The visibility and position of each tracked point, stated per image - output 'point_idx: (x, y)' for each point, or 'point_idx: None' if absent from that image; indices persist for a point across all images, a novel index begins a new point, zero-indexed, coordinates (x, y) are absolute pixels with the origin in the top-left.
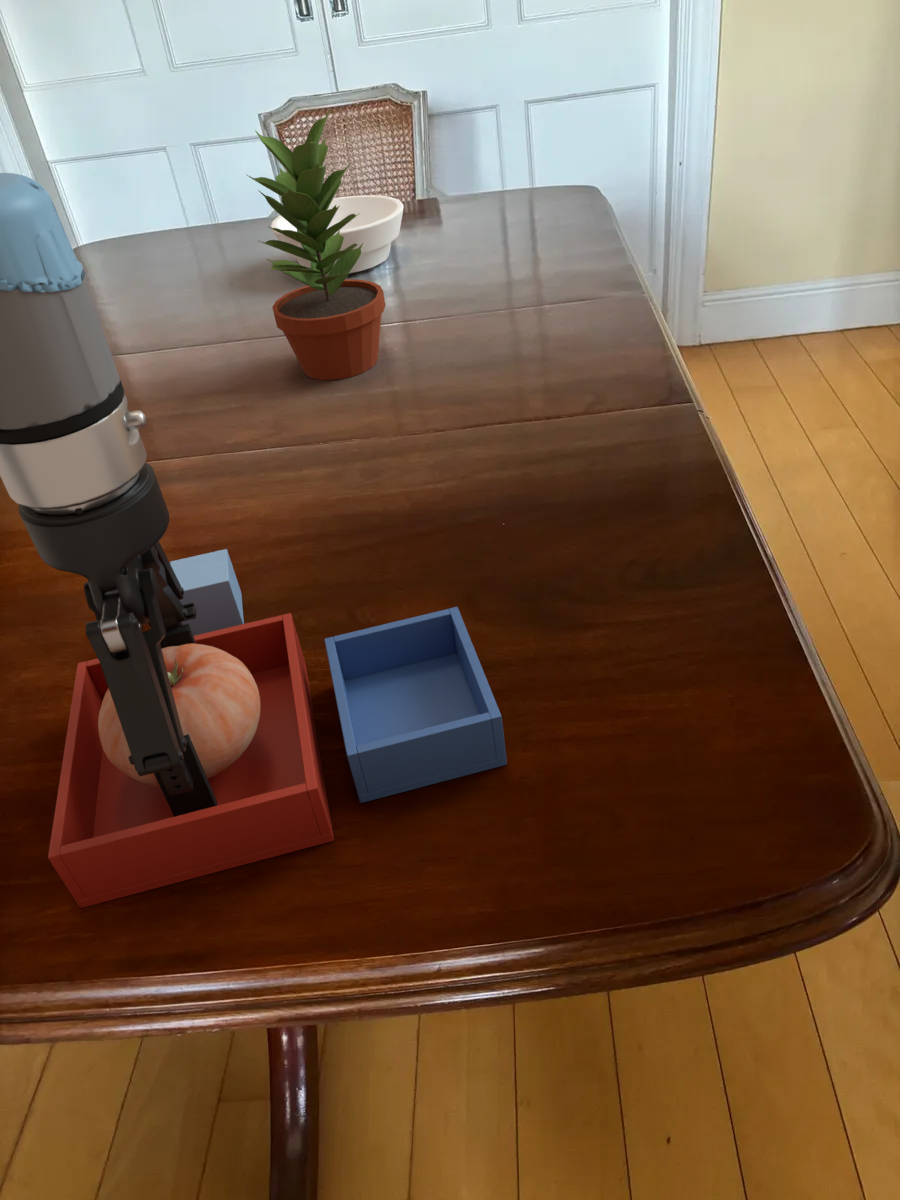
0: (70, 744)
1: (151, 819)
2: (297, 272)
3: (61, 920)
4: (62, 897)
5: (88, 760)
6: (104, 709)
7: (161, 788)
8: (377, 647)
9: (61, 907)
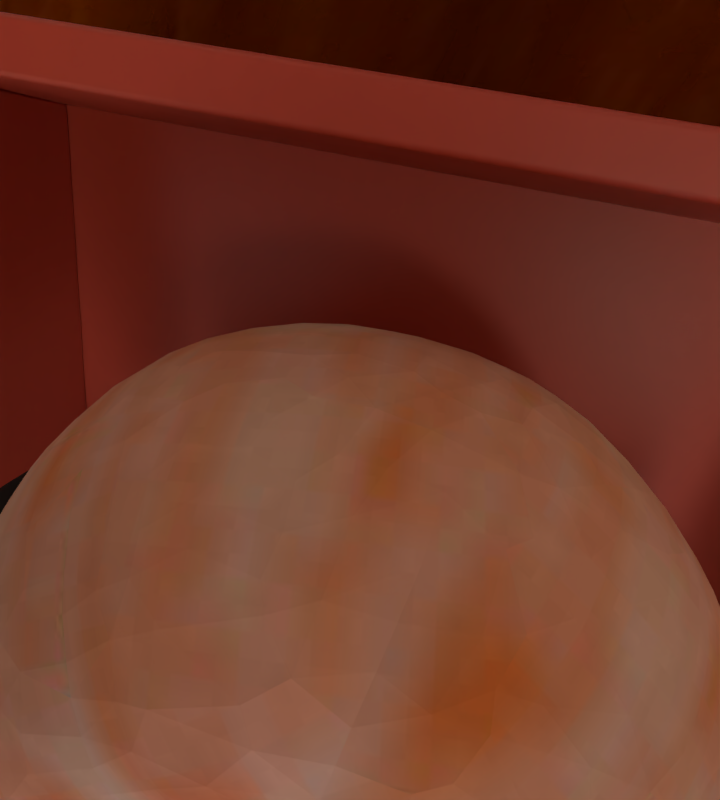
0: (478, 130)
1: (245, 322)
2: None
3: (43, 7)
4: (115, 11)
5: (511, 179)
6: (250, 535)
7: (14, 479)
8: None
9: (83, 7)
